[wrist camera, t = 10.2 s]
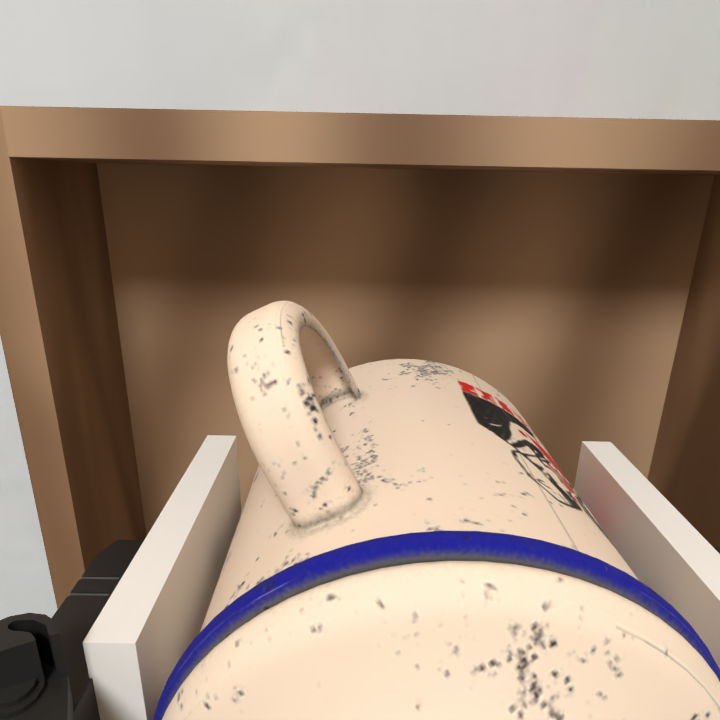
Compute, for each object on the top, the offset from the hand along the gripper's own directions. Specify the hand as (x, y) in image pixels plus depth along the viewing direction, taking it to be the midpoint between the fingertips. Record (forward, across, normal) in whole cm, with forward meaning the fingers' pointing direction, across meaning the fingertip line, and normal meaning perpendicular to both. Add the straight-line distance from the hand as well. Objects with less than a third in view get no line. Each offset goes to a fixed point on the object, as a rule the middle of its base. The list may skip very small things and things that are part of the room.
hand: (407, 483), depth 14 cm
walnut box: (+5, 0, 0) cm, 5 cm away
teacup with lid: (+2, +1, 0) cm, 2 cm away
